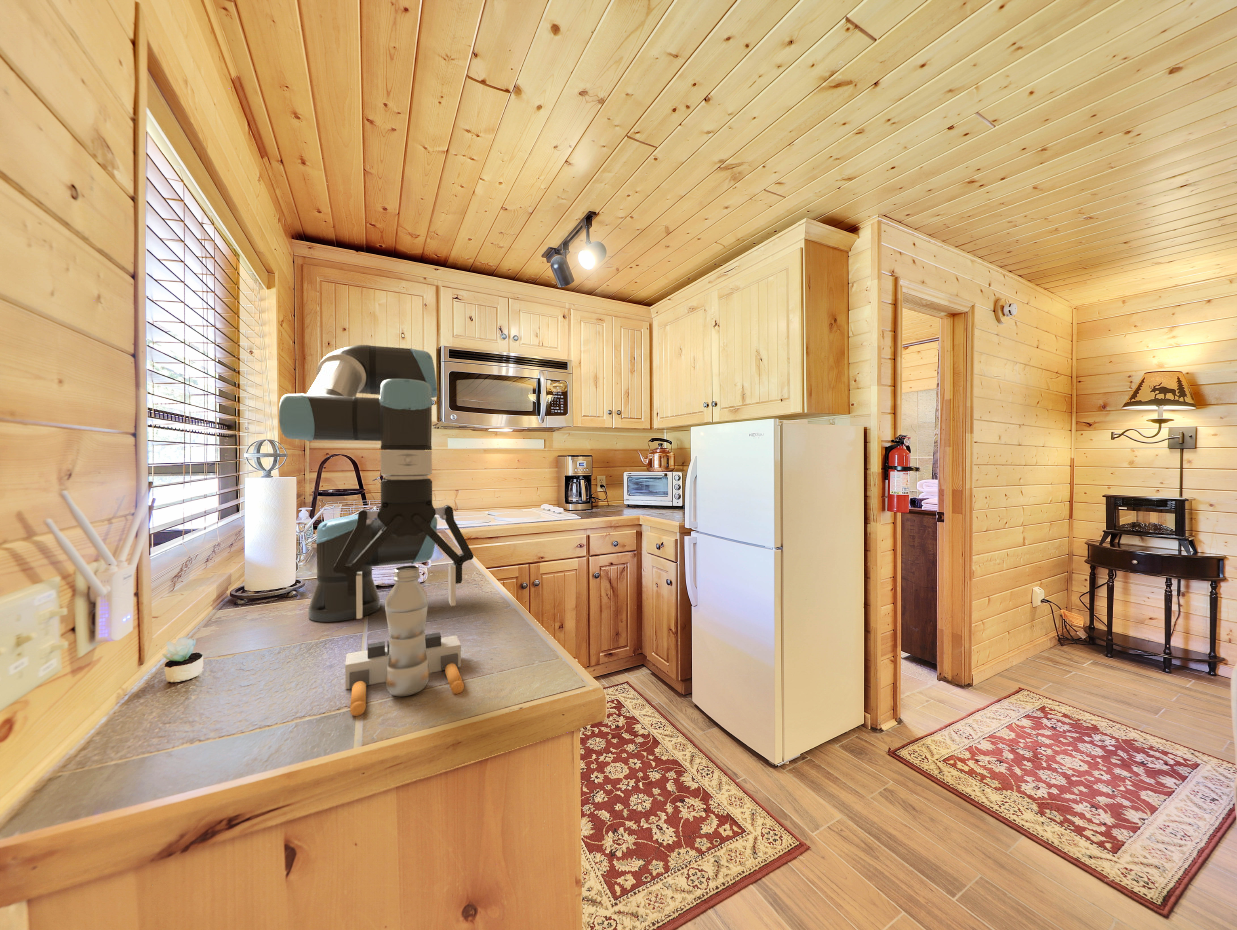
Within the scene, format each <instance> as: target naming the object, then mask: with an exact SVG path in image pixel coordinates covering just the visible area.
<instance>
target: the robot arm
mask: <svg viewBox="0 0 1237 930" xmlns="http://www.w3.org/2000/svg"><path fill="white" fill-rule="evenodd" d="M437 385H438V384H437V375H436V370H435V364H434V359H433V357H432V355H431V353H429V352H428V351H426V350H422V349H421V350H420V349H415V348H412V347H411V348H410V347H409V348H407V347H395V346H394V347H391V346H379V345H369V344H358V345H357V344H356V345H350V346H346V347H343V348H339V349H336V350H334V351H332V352H329V353H328V354H326V356H324V357H323V358H322V359H321V360H320V361H319V363H318V365H317V368H316V379H315V380H314V382H313V383H312V385H311V387H310V388H309V390H308V392H307V393H301V392H300V393H287V394H284V395H283V396H281V398H280V401H279V406H278V421H279V428H280V432H281V433H282V435H283V437H285V438H287V439H289V440H300V441H307V442H312V441H333V442H334V441H347V442H348V441H351V442H353V441H357V442H358V441H359V442H362V441H363V442H380V452H379V455H380V458H379V459H380V475H381V476H383V477H384V478H383V479H382V480H381V481H380V507H379V509H378V510H367V509H366V508H361V509H360V510H358V513H357V514H350V515H346V516H345V515H344V516H340V517H336V518H331V519H328V520H325V521H322V522H320V523H319V525H318V526H317V529H316V540H315V544H316V586H315V588H314V591H313V594H312V595H311V596H312V597H311V599H310V602H309V606H308V611H307V612H308V615H307V616H308V619H309V620H311V621H313V622H321V623H322V622H323V623H329V622H330V623H331V622H343V621H348V620H353V619H356V620H358V619H359V620H360V619H363V617H366V616H369V615H371V614H374V613H376V612H377V611H379V610H380V608H381V598H380V595H379V592H378V589H377V586H376V585H375V582H374V579H373V571H372V570H373V567H383V566H395V565H407V564H408V565H410V564H411V565H415V564H417V563H419V564H420V563H427V562H428V561H430V560H431V559H432V557H433V555H434V551H435V548H436V547H435V546H436V545H437V547H439V549H441V551H443V552H444V554H446V556H447V557H448V558H449V559H450V560H451V561H452V562H449V563H448V567H447V568H448V572H447V573H448V581H447V582H448V603H449V605H450V606H457V603H456V599H457V597H456V595H457V594H456V592H457V591H456V585H458V584H462V581H463V564H464V563H466V562H467V561H472V560H473V559H474V557H475V556H474V553H473V551H472V550H471V547H470V546H469V545H468V543H467V541H466V539H465V537H464V535H463V533H462V531H461V530H460V528H459V526H458V524H457V522H456V521H455V518H454V516H455V515H454V509H453V507H452V506H450V504H446V505H444V506H441V507H434V504H433V480H432V479H431V478H429V476H431V475H432V474H433V458H432V457H433V456H432V455H433V454H432V453H433V451H432V450H433V447H432V438H433V437H432V436H433V435H432V434H433V433H432V431H433V426H432V425H433V423H432V421H433V414H432V413H433V402H434V401H433V399H435V398H437V397H438V388H437ZM357 394H362V395H363V394H365V395H375V396H376V395H377V396H379V397H367V396H365V397H364V396H363V397H362V396H357ZM436 516H439V518H440V520H443V521H445V523H446V525H447V527H448V529H449V531H450V533H451V534H452V536H453V538H454V540H455V542H456V543H457V545H458V547H459V549H460V550H461V553H460V554H458V553H457V552H456V551H455V550H454V549H453V548H452V547H451V546H450V545H449V544H448V543H447V542H446V540H444V539H443V537H442V536H440V535H439V533H438V529H437V528H438V518H437V517H436Z"/></svg>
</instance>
